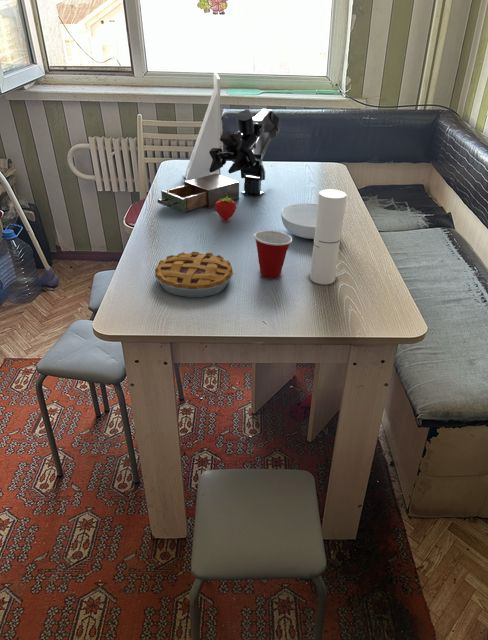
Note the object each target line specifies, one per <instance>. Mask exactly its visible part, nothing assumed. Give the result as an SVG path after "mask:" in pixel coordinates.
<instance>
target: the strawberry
mask: <svg viewBox="0 0 488 640" xmlns="http://www.w3.org/2000/svg"><path fill="white" fill-rule="evenodd" d="M225 198H226V199H225ZM225 198H219V201H217V202H216V204H215V206H214V209H215V212H216V213H217V215H218V216H219V217H220V218H221V219H222V221H223V222H224V223H227V222H228V221H229V220H231V218H232V217H233V216H234V214H235V213H236V211H237V203H236V202H235V200H233V201H231V200H232V199H231V198H228V196H227V197H225Z"/></svg>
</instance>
